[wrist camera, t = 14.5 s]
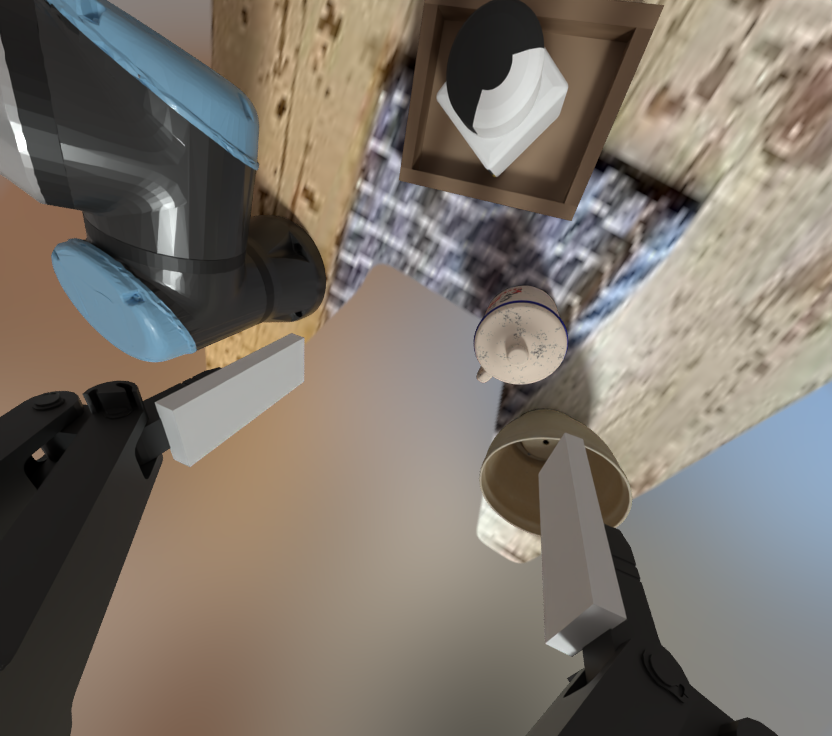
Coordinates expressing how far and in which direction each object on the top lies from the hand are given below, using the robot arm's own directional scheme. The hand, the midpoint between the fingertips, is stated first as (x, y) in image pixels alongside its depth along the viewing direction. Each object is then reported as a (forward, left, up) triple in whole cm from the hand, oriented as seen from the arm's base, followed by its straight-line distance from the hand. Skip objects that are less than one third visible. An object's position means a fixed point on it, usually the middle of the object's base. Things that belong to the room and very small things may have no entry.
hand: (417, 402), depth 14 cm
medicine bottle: (-3, +16, -26) cm, 30 cm away
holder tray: (-3, +16, -27) cm, 31 cm away
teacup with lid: (+5, -4, -27) cm, 28 cm away
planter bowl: (+15, -18, -27) cm, 36 cm away
